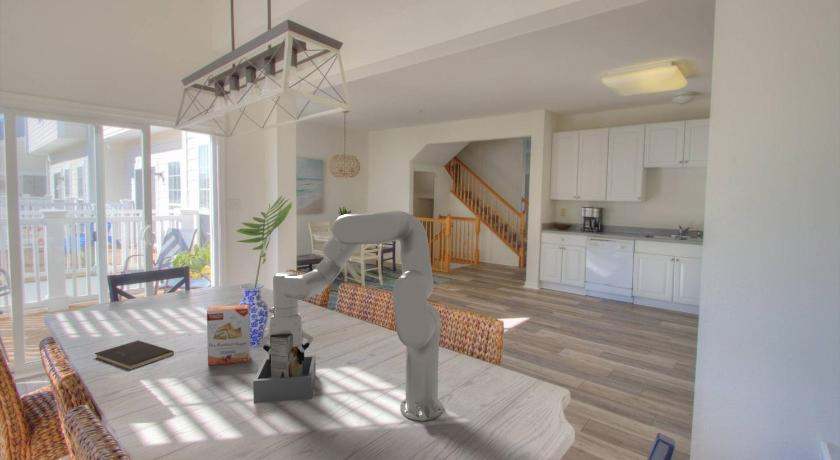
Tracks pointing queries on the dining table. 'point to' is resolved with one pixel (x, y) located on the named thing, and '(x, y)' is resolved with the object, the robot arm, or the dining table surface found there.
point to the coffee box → (284, 357)
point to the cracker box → (228, 334)
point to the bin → (284, 383)
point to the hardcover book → (134, 354)
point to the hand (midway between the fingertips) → (287, 363)
